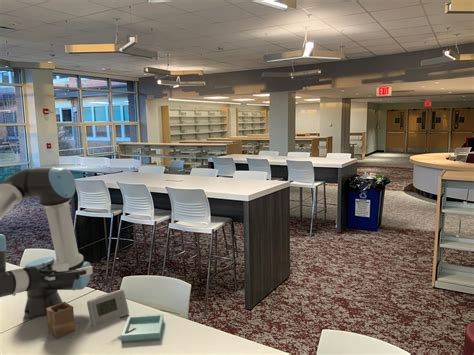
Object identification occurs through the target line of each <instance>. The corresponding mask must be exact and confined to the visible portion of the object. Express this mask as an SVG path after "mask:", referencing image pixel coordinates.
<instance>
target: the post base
mask: <svg viewBox="0 0 474 355" xmlns="http://www.w3.org/2000/svg"><path fill="white" fill-rule="evenodd" d="M60 310H63V309H58V310H57V312H58V311H60ZM81 324H82V323H75V331H74V332H72V333H70V334H68V335H66V336H63V337H61V338H59V339H56V338H55V337H53V336H52V335H51V334H49V331H47V333H46V334H45V335H44V336H43V338H42V339H41V342H51V341H64V340H65V341H67V340H73V338H74V337H75V335H76V333H77V331H78V330H79V328H80V327H81Z"/></svg>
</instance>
